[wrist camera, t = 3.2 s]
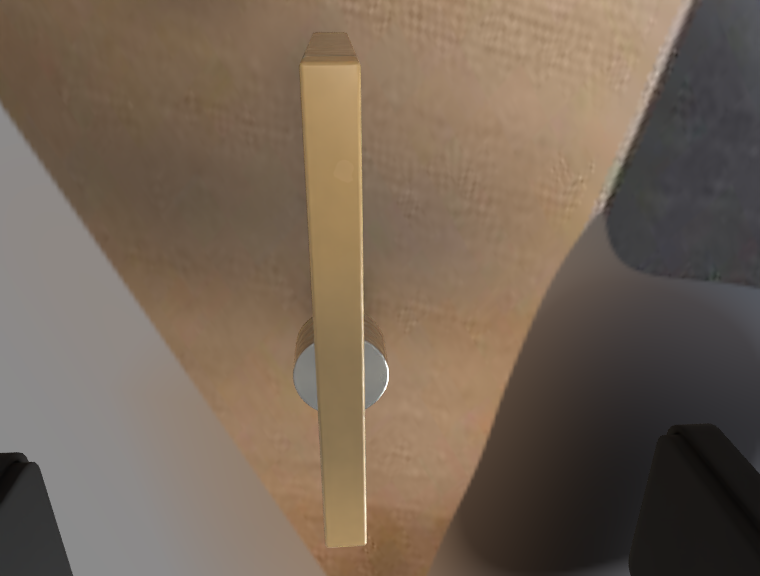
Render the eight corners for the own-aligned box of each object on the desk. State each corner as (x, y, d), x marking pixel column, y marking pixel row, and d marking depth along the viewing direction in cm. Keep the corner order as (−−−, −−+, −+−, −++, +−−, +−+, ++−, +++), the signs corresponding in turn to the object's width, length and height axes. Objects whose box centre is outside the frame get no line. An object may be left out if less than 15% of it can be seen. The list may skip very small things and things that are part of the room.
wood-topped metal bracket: (384, 381, 23) (411, 575, 15) (298, 384, 23) (282, 583, 15) (385, 31, 17) (428, 61, 10) (273, 32, 17) (228, 62, 10)
